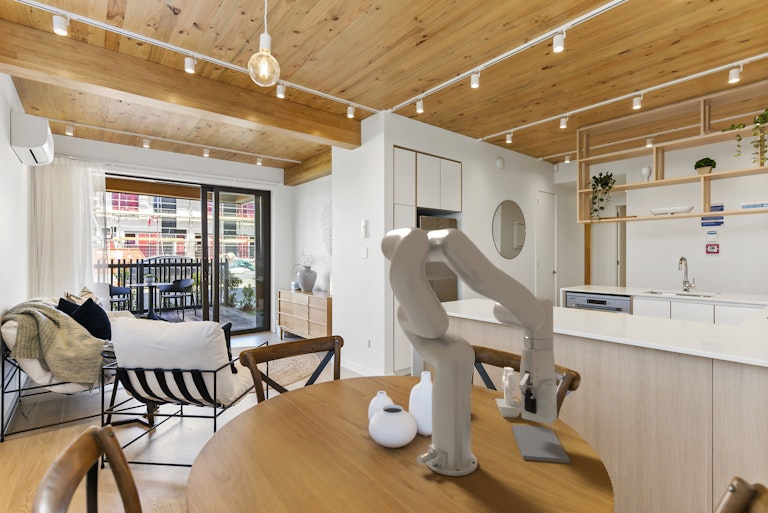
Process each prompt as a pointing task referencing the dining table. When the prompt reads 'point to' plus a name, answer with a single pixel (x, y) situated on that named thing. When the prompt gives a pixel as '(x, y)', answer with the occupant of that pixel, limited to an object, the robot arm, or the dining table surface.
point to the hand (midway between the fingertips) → (538, 408)
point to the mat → (539, 444)
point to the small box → (543, 403)
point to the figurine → (509, 395)
